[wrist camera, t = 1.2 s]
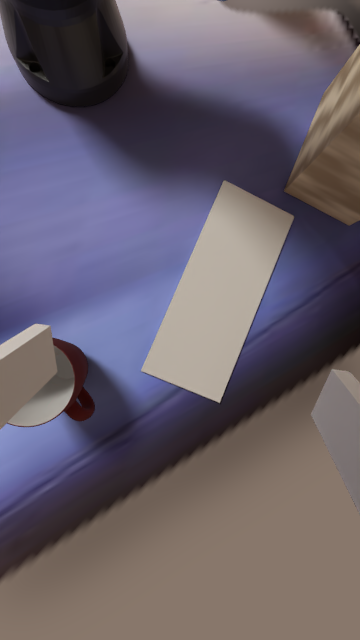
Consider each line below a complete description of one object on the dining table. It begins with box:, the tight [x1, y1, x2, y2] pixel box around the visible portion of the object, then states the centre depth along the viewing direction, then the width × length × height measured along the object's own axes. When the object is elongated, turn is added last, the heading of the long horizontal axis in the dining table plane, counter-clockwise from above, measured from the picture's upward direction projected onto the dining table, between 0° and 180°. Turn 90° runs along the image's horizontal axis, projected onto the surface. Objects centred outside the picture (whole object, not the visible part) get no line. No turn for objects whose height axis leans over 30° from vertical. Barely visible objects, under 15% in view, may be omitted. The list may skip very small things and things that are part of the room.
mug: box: [7, 338, 95, 427], centre depth 26 cm, size 11×8×10 cm
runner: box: [141, 180, 294, 403], centre depth 34 cm, size 30×12×1 cm, turn 157°
